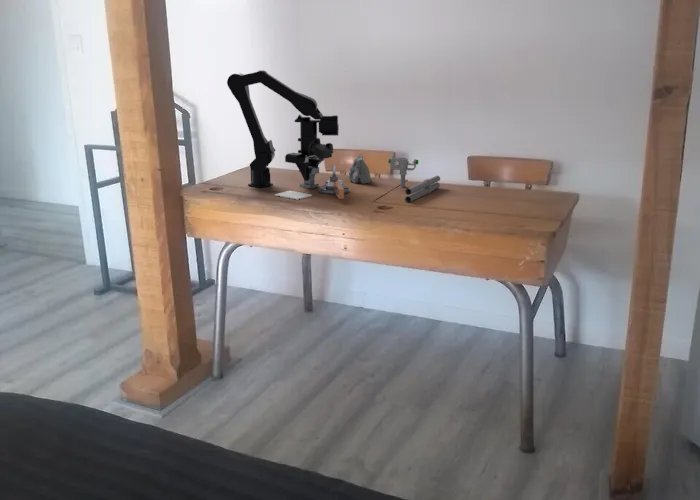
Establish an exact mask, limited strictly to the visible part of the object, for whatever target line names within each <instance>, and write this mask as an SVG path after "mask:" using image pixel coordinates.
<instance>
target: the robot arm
mask: <svg viewBox="0 0 700 500" xmlns="http://www.w3.org/2000/svg"><path fill="white" fill-rule="evenodd" d="M256 84H262V85H263V86H264V87H267V88H268V89H270V90H271V91H273V92H274V93H276V94H277V95H279V96H280V97H282V98H283V99H285V100H287V101H288V102H289V103H291V105H292V106H293V107H294V108H295V109H296V110H297V111H298V112H300V113H301V114H299V115H297V118H296V119H294V123H300V124H299V125H300V127H299V128H300V133H299V134H300V136H299V137H298V138H297V142H300V149H298V150H297V152H291V153H290V152H289V153H286V154H285V155H284V158H285V159H284V163H290V164H295V165H296V167H297V168H298V171H299V170H300V172H299V173H300V174H301V176H302V179H303V181H304V180H305V181H307V180H308V166H314V167H319V165H320V164H321V163H323V162H324V161H325V159H330V158H332V156H333V155H332V154H333V153H334V144H333V143H331V142H327V143H321V139H320V138H319V137H318V133H320V134H321V136H324V137H325V136H328V137H329V136H332V137H333V136H336V137H337V136H339V134H340V133H339V132H340V131H339V126H340V125H339V116H338V115H337V114H336V115H335V114H334V115H323V113H322V112H321V111H320V110H319V108H318V102H317V101H316V99H315V98H313V97H311V96H308V95H305V94H303V93H301V92H298V91H295V90H294V89H292V88H291V87H289V86H288V85H286V84H284V83H283V82H282V81H280V80H279V79H277V78H275V77H274V76H272V75H271V74H269V73H268V72H267V71H266V70H264V69H261V70H258V71H256V72H255V71H253V72H249V73H247V74H244V73H241V72H237V73H232V74H230V75H229V76H228V78H227V80H226V85H227V88H228V89H229V90H230V91H231V93H232V95H233V97H234V98H235V100H236V101H237V102H238V104H239V107H240V110H241V112H242V115H243V118H244V120H245V123H246V126H247V128H248V131H249V133H250V136H251V139H252V141H253V151H254V156H255V157H254V159H253V160H252V161H251V163H249V167H250V183H247V186H250V187H255V188H265V187H271V186H273V185H274V183H273V182H271V171H270V167H268V166H269V165H270V164H271V163H272V162H273V160H274V158H275V156H276V155H275V152H276V149H275V147H274V146H273V145H274V144H273V141H272V139H270V140H268V139H267V138H266V137H265V134H264V132H263V128H262V126H261V123H260V121H259V119H258V116H257V114H256V111H255V108H254V106H253V103H252V100H251V96H250V87H249V86H251V85H256ZM302 115H303V116H302ZM311 118H312V119H311ZM315 177H316V174H314V178H315Z"/></svg>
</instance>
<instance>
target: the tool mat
mask: <svg viewBox="0 0 700 500" xmlns="http://www.w3.org/2000/svg"><path fill="white" fill-rule="evenodd" d="M274 196H275V197H278V196H280V197H279V198H283V199H289V198H290V199H289V200H294V199H296V200H295V201H299V199H300V200H303V199H307V198H311V197H313V194H311V193H305V192H299V191H293V190H286V191H282V192H278V193H275V194H274Z"/></svg>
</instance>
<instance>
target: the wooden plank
mask: <svg viewBox="0 0 700 500" xmlns="http://www.w3.org/2000/svg"><path fill="white" fill-rule="evenodd" d="M331 166H332V168H331V170H332V171H331V173H332V176H330V177H329V179H325V183H324V186H325V188H326V189H329V190H334V192H335V193H336V195H335V196H337V198H338V199H339V200H340V199H342V200H343V199H344V198H345V194H344V189H343V186H344V180H342V179H339V176H338V175H337V164H332V165H331Z"/></svg>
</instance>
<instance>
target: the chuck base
mask: <svg viewBox="0 0 700 500" xmlns="http://www.w3.org/2000/svg"><path fill="white" fill-rule="evenodd" d="M343 189H344V195H345V194H348V193H349V191H350V187H349V186H348V187H347V186H344V185H343ZM318 191H319V193H321V194H323V195H335V196H337V195H336V193H335V192H334V190H329V189H326V188H325V185H324V186H320V187H319V190H318Z"/></svg>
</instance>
